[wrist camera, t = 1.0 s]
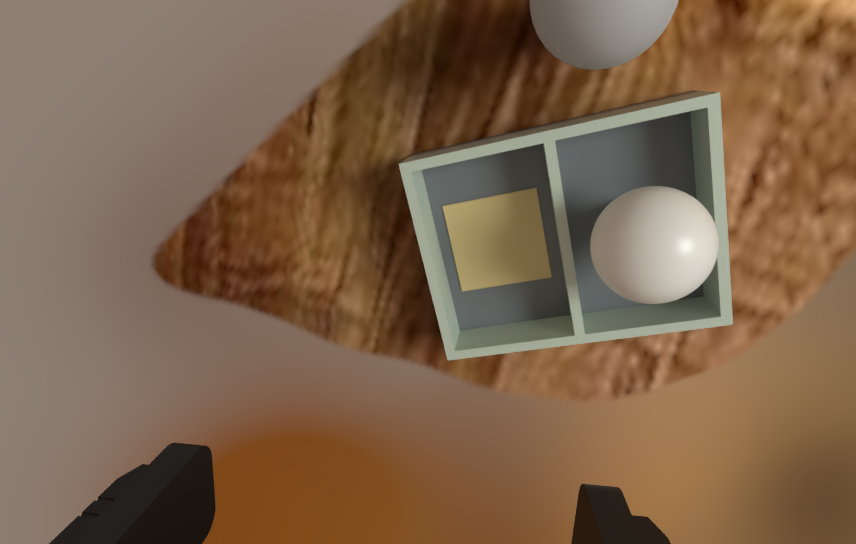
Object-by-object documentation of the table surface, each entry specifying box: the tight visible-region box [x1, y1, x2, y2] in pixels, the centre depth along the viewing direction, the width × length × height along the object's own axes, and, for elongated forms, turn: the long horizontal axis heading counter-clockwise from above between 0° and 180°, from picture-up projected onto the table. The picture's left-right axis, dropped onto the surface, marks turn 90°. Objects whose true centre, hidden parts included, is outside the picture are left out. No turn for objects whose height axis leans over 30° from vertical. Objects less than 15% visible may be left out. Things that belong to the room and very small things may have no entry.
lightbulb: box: [530, 0, 679, 70], centre depth 24 cm, size 6×6×11 cm
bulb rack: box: [399, 91, 733, 360], centre depth 29 cm, size 13×17×10 cm
